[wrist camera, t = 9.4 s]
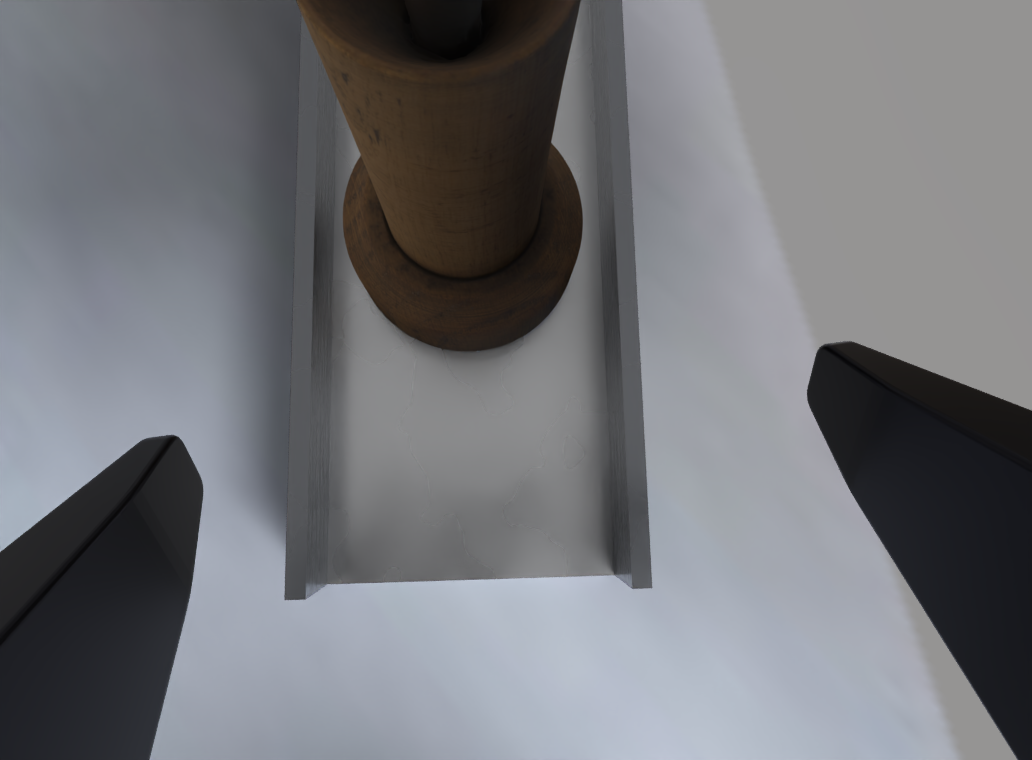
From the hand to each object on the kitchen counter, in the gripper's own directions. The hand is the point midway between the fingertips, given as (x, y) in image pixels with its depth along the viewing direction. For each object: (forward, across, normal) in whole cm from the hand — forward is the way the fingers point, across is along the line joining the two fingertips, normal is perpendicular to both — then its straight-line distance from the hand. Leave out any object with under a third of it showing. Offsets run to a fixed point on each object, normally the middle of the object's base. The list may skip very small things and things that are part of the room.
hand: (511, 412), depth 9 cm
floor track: (+12, 0, +3) cm, 12 cm away
